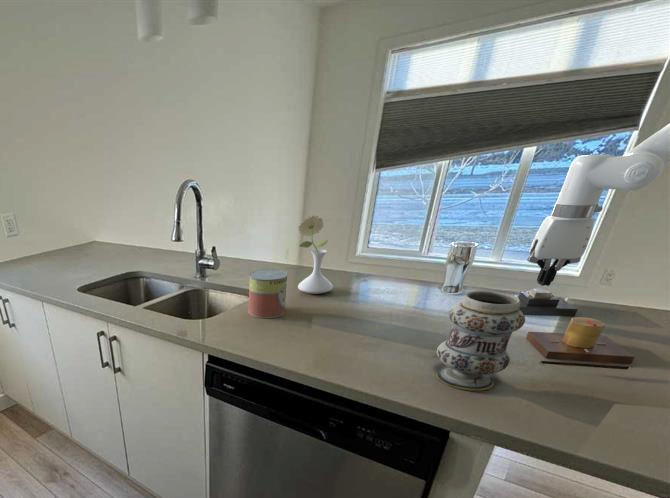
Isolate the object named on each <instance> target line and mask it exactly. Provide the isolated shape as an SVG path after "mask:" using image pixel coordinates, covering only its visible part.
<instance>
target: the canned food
mask: <svg viewBox="0 0 670 498" xmlns="http://www.w3.org/2000/svg"><path fill="white" fill-rule="evenodd" d="M288 276H289V274H288V272H287V271H285V270H281V269H275V268H274V269H271V268H270V269H269V268H267V269H266V268H265V269H259V270H255V271H252V272H250V273H249V283H248V284H249V285H248V286H249V288H248V292H249V293H248V311H247V312H248V315H250V316H252V317H253V318H258V319H275V318H279V317H282V316H283V315H285V313H286V298H287V287H288V284H287V283H288Z"/></svg>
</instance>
